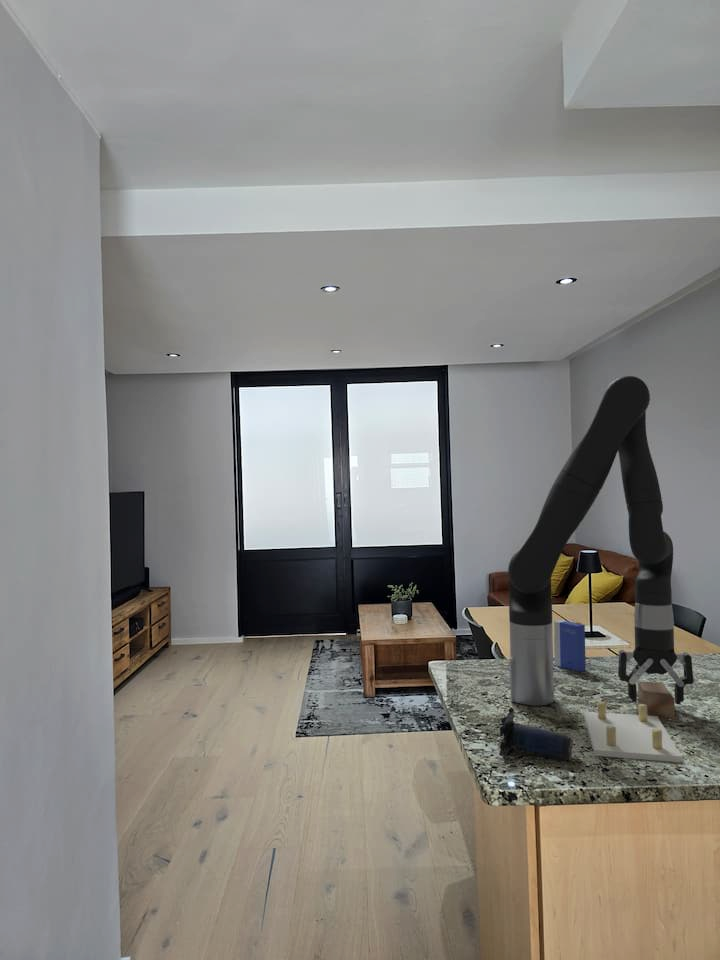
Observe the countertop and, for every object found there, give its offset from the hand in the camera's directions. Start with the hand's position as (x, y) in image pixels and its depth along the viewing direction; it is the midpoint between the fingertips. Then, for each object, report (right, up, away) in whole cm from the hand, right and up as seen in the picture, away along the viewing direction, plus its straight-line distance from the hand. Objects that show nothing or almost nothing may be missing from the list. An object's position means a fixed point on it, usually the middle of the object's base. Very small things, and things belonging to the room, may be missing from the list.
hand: (655, 702), depth 137 cm
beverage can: (-31, -2, -22) cm, 38 cm away
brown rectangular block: (0, -2, 0) cm, 2 cm away
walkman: (-7, -2, +33) cm, 34 cm away
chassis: (-12, -2, -15) cm, 19 cm away
